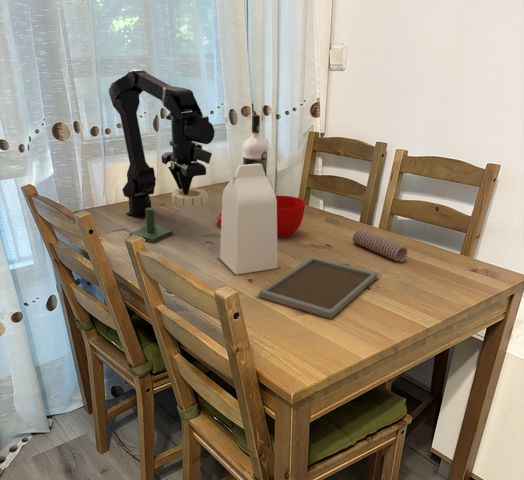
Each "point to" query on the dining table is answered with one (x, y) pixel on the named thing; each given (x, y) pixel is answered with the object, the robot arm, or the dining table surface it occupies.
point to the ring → (190, 197)
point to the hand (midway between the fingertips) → (184, 193)
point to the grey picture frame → (319, 286)
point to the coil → (380, 245)
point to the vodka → (255, 146)
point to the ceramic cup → (289, 215)
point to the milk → (249, 222)
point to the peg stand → (152, 229)
